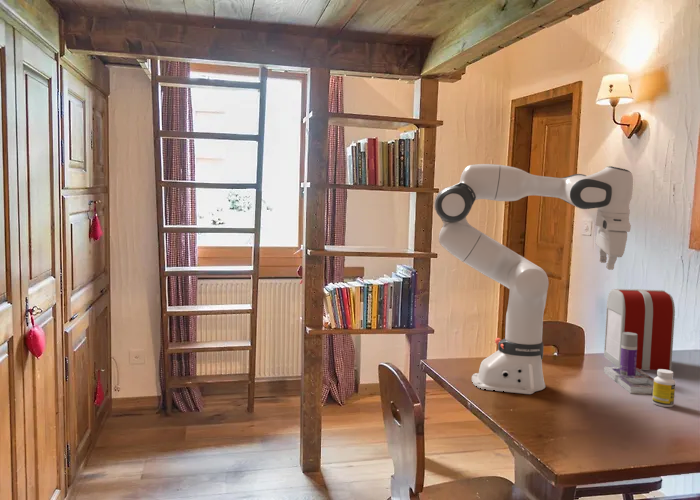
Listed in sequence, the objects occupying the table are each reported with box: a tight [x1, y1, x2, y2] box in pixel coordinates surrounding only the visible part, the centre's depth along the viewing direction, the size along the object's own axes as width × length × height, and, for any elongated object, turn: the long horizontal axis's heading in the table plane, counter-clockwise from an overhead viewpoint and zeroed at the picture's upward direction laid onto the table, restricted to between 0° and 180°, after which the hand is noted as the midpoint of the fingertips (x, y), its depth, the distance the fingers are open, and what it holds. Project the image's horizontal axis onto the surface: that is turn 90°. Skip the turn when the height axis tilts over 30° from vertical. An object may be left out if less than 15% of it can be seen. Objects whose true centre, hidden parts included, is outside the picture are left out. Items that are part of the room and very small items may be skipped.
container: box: [620, 332, 637, 376], centre depth 182 cm, size 5×5×15 cm
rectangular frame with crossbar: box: [603, 366, 654, 395], centre depth 178 cm, size 21×11×2 cm, turn 176°
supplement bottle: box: [651, 369, 676, 408], centre depth 158 cm, size 5×5×10 cm
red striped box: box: [603, 288, 676, 371], centre depth 200 cm, size 16×18×27 cm
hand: (606, 265), depth 169 cm, fingers open, 8 cm apart
